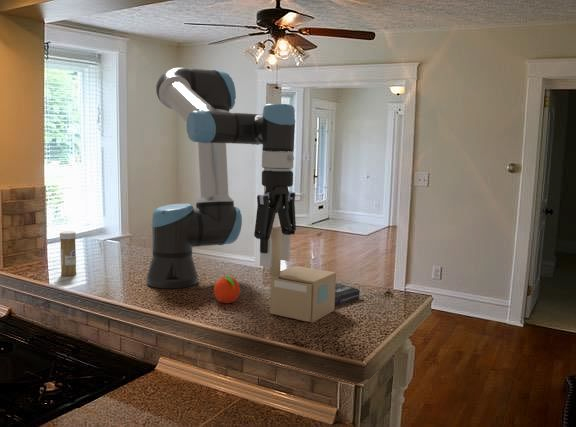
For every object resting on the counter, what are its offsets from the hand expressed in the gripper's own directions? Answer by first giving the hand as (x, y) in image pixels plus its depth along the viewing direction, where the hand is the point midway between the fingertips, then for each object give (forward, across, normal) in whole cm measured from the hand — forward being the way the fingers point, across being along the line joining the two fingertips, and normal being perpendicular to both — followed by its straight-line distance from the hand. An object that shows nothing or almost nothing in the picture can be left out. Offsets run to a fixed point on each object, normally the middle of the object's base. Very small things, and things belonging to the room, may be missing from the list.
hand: (275, 262), depth 131 cm
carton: (+13, +7, -4) cm, 15 cm away
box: (+14, +22, 0) cm, 26 cm away
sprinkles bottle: (+13, -3, +74) cm, 75 cm away
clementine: (+13, +2, +16) cm, 21 cm away
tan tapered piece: (+13, 0, -4) cm, 14 cm away
